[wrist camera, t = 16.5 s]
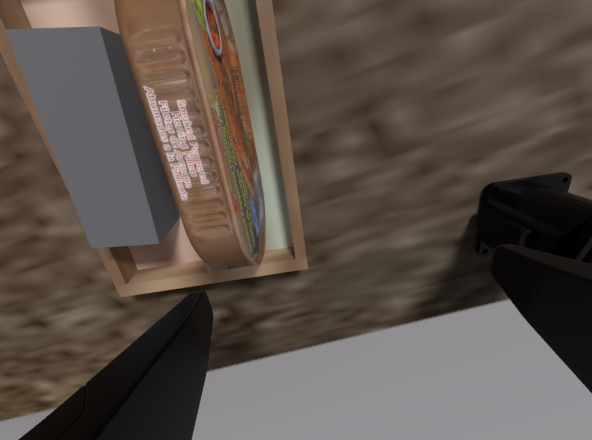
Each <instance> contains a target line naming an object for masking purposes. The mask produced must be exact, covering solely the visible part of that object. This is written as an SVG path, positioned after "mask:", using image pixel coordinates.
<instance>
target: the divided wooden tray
mask: <svg viewBox="0 0 592 440" xmlns="http://www.w3.org/2000/svg"><path fill="white" fill-rule="evenodd" d="M224 1H225V4H226V8H227V11H228V15H229V18H230V22H231V26H232V30H233V34H234V39H235V42H236V47H237V51H238V56H239V61H240V66H241V72H242V77H243V82H244V88H245V93H246V99H247V104H248V110H249V115H250V121H251V126H252V131H253V137H254V142H255V148H256V152H257V158H258V163H259V169H260V174H261V180H262V187H263V193H264V202H265V216H266V240H265V252H264V256H263V260H262V262H261V263H260V264H259V265H257V266H253V265H241V266H231V267H213V266H210V265H208V264H207V263H205V262H204V261H203V260H202V259H201V258H200V257H199V256H198V254H197V253H196V252H195V250H194V248H193V247H192V245H191V243H190V241H189V238H188V236H187V234H186V231H185V229H184V226H183V223H182V220H181V217H180V218H179V219H178V221H177V222H176V223H175V225H174V226H173V227H172V228H171V230H170V231H169V232H168V233H167V235H166V236H165V237H164V238H163V240H162V241H161V242H160V244H148V245H133V246H119V247H105V248H97V250H98V252H99V254H100V256H101V258H102V260H103V262H104V264H105V266H106V268H107V270H108V272H109V274H110V276H111V279H112V281H113V283H114V285H115V287H116V289H117V291H118V293H119V295H120V297H126V296H132V295H139V294H146V293H152V292H159V291H165V290H172V289H179V288H185V287H192V286H198V285H205V284H212V283H218V282H225V281H231V280H238V279H244V278H251V277H258V276H264V275H271V274H277V273H284V272H291V271H297V270H304V269H308V265H307V258H306V250H305V243H304V235H303V228H302V221H301V213H300V206H299V199H298V191H297V184H296V176H295V169H294V162H293V154H292V147H291V139H290V132H289V125H288V117H287V110H286V102H285V95H284V88H283V80H282V73H281V66H280V58H279V51H278V43H277V36H276V29H275V21H274V14H273V6H272V0H224ZM93 26H100V27H102V28H105V29H107V30H110V31H112V32H115V33H117V34H119V35H120V33H119V28H118V23H117V18H116V14H115V7H114V0H0V53H1V55H2V57H3V59H4V61H5V63H6V65H7V67H8V69H9V71H10V73H11V75H12V77H13V80H14V82H15V84H16V86H17V88H18V90H19V92H20V94H21V96H22V98H23V100H24V102H25V104H26V106H27V108H28V110H29V112H30V114H31V116H32V118H33V120H34V122H35V124H36V126H37V128H38V130H39V132H40V134H41V136H42V138H43V140H44V142H45V145H46V147H47V149H48V151H49V153H50V155H51V157H52V159H53V161H54V163H55V165H56V167H57V169H58V171H59V173H60V175H61V177H62V179H63V181H64V183H65V180H64V178H63V175H62V173H61V170H60V168H59V165H58V163H57V160H56V157H55V155H54V152H53V150H52V147H51V145H50V142H49V140H48V137H47V135H46V132H45V129H44V127H43V124H42V122H41V119H40V117H39V114H38V112H37V109H36V107H35V104H34V101H33V99H32V96H31V94H30V91H29V89H28V86H27V84H26V81H25V79H24V76H23V73H22V71H21V68H20V66H19V63H18V61H17V58H16V56H15V53H14V51H13V48H12V46H11V43H10V40H9V38H8V35H7V33H6V30H5V29H33V28H63V27H93ZM65 185H66V183H65ZM66 187H67V185H66ZM67 189H68V188H67ZM179 216H180V214H179Z"/></svg>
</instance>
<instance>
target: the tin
mask: <svg viewBox="0 0 592 440" xmlns="http://www.w3.org/2000/svg"><path fill="white" fill-rule="evenodd" d="M114 7H115V14H116V18H117V23H118V28H119V33H120V36H121V40H122V44H123V47H124V50H125V53H126V56H127V59H128V62H129V66H130V69H131V72H132V75H133V77H134V80H135V83H136V87H137V90H138V93H139V96H140V99H141V102H142V105H143V108H144V111H145V114H146V117H147V119H148V123H149V126H150V129H151V132H152V135H153V138H154V141H155V144H156V147H157V150H158V152H159V156H160V159H161V162H162V165H163V168H164V171H165V173H166V176H167V179H168V182H169V185H170V188H171V191H172V194H173V197H174V200H175V202H176V205H177V209H178V211H179V214H180V217H181V220H182V223H183V226H184V229H185V231H186V234H187V236H188V238H189V241H190V243H191V245H192V247H193V248H194V250H195V252H196V253H197V254H198V256H199V257H200V258H201V259H202V260H203V261H204V262H205V263H207V264H208V265H210V266H213V267H231V266H241V265H253V266H257V265H259V264H260V263H261V262H262V260H263V256H264V252H265V240H266V216H265V202H264V193H263V187H262V180H261V174H260V169H259V163H258V158H257V152H256V148H255V142H254V137H253V131H252V126H251V121H250V115H249V110H248V104H247V99H246V93H245V88H244V82H243V77H242V72H241V66H240V61H239V56H238V51H237V47H236V42H235V39H234V34H233V30H232V26H231V22H230V18H229V15H228V11H227V8H226V4H225V1H224V0H114Z"/></svg>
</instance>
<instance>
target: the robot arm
mask: <svg viewBox="0 0 592 440" xmlns="http://www.w3.org/2000/svg"><path fill="white" fill-rule="evenodd" d="M562 179H563V180H562ZM571 179H572V176H571V175H570V174H568V173H564V172H561V173H555V174H548V175H541V176H535V177H528V178H521V179H514V180H508V181H501V182H494V183H490V184H489V185H488V186H487V187H486V190H485V196H484V202H483V209H482V214H481V221H480V227H479V233H478V240H477V247H476V252H477V254H479V255H480V256H483V257H484V256H491V255H493V258H492V264H491V273H492V275H493V277H494V278H495V280H496V281H497V283H498V284H499V285H500V287H501V288H502V289H503V291H504V292H505V293H506V295H507V296H508V297H509V299H510V300H511V301H512V303H513V304H514V305H515V307H516V308H517V309H518V311H519V312H520V313H521V314H522V316H523V317H524V318H525V319H526V321H527V322H528V323H529V324H530V325H531V326H532V327H533V328H534V330H535V331H536V332H537V333H538V334H539V335H540V336H541V337H542V339H543V340H544V341H545V342H546V343H547V344H548V345H549V346H550V347H551V349H552V350H553V351H554V352H555V353H556V354H557V355H558V356H559V357H560V359H561V360H562V361H563V362H564V363H565V364H566V365H567V366H568V367H569V369H570V370H571V371H572V372H573V373H574V374H575V375H576V376H577V377H578V379H579V380H580V381H581V382H582V383H583V384H584V385H585V386H586V387H587V389H588V390H589V391H590V392H591V393H592V200H590V199H587V198H584V197H581V196H578V195H574V194H571V193H568V189H569V186H570V182H571ZM494 188H495V189H494ZM493 189H494V191H492V190H493ZM483 250H484V251H483ZM212 325H213V311H212V308H211V305H210V302H209V299H208V296H207V294H206V292H205V291H198V292H192V293H190V294H189V295H188V296H187V297H185V298H184V299H183V300H182V301H181V302H180V303H178V304H177V305H176V306H175V307H174V308H173V309H171V310H170V311H169V312H168V313H167V314H166V315H165V316H163V317H162V318H161V319H160V320H159V321H158V322H156V323H155V324H154V325H153V326H152V327H151V328H150V329H148V330H147V331H146V332H145V333H144V334H143V335H141V336H140V337H139V338H138V339H137V340H136V341H134V342H133V343H132V344H131V345H130V346H129V347H128V348H126V349H125V350H124V351H123V352H122V353H121V354H119V355H118V356H117V357H116V358H115V359H114V360H113V361H111V362H110V363H109V364H108V365H107V366H106V367H104V368H103V369H102V370H101V371H100V372H99V373H97V374H96V375H95V376H94V377H93V378H92V379H91V380H89V381H88V382H87V383H86V386H82V387H81V388H80V389H79V390H78V391H77V392H75V393H74V394H73V395H72V396H71V397H70V398H68V399H67V400H66V401H65V402H64V403H63V404H61V405H60V406H59V407H58V408H57V409H55V410H54V411H53V412H52V413H51V414H50V415H48V416H47V417H46V418H45V419H44V420H42V421H41V422H40V423H39V424H38V425H36V426H35V427H34V428H33V429H31V430H30V431H29V432H28V433H26V434H25V435H24V436H23V437H21V438H20V439H19V440H192V435H193V431H194V426H195V421H196V417H197V413H198V409H199V404H200V399H201V395H202V391H203V386H204V382H205V378H206V373H207V368H208V361H209V352H210V343H211V334H212Z"/></svg>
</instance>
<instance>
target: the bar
mask: <svg viewBox="0 0 592 440" xmlns="http://www.w3.org/2000/svg"><path fill="white" fill-rule="evenodd" d="M5 30H6V33H7V35H8V38H9V40H10V43H11V46H12V48H13V51H14V53H15V56H16V58H17V61H18V63H19V66H20V68H21V71H22V73H23V76H24V79H25V81H26V84H27V86H28V89H29V91H30V94H31V96H32V99H33V101H34V104H35V107H36V109H37V112H38V114H39V117H40V119H41V122H42V124H43V127H44V129H45V132H46V135H47V137H48V140H49V142H50V145H51V147H52V150H53V152H54V155H55V157H56V160H57V163H58V165H59V168H60V170H61V173H62V175H63V178H64V180H65V183H66V185H67V188H68V191H69V193H70V196H71V198H72V201H73V203H74V206H75V208H76V211H77V213H78V216H79V218H80V221H81V224H82V226H83V229H84V231H85V234H86V236H87V239H88V241H89V244H90V246H91V248H105V247H119V246H133V245H148V244H160V242H161V241H162V240H163V238H164V237H165V236H166V235H167V233H168V232H169V231H170V230H171V228H172V227H173V226H174V225H175V223H176V222H177V221H178V219H179V218H180V216H179V211H178V209H177V205H176V202H175V200H174V197H173V194H172V191H171V188H170V185H169V182H168V179H167V176H166V173H165V171H164V168H163V165H162V162H161V159H160V156H159V152H158V150H157V147H156V144H155V141H154V138H153V135H152V132H151V129H150V126H149V123H148V119H147V117H146V114H145V111H144V108H143V105H142V102H141V99H140V96H139V93H138V90H137V87H136V83H135V80H134V77H133V75H132V72H131V69H130V66H129V62H128V59H127V56H126V53H125V50H124V47H123V44H122V40H121V36H120V35H119V34H117V33H115V32H112V31H110V30H107V29H105V28H102V27H100V26H93V27H63V28H33V29H5Z"/></svg>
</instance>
